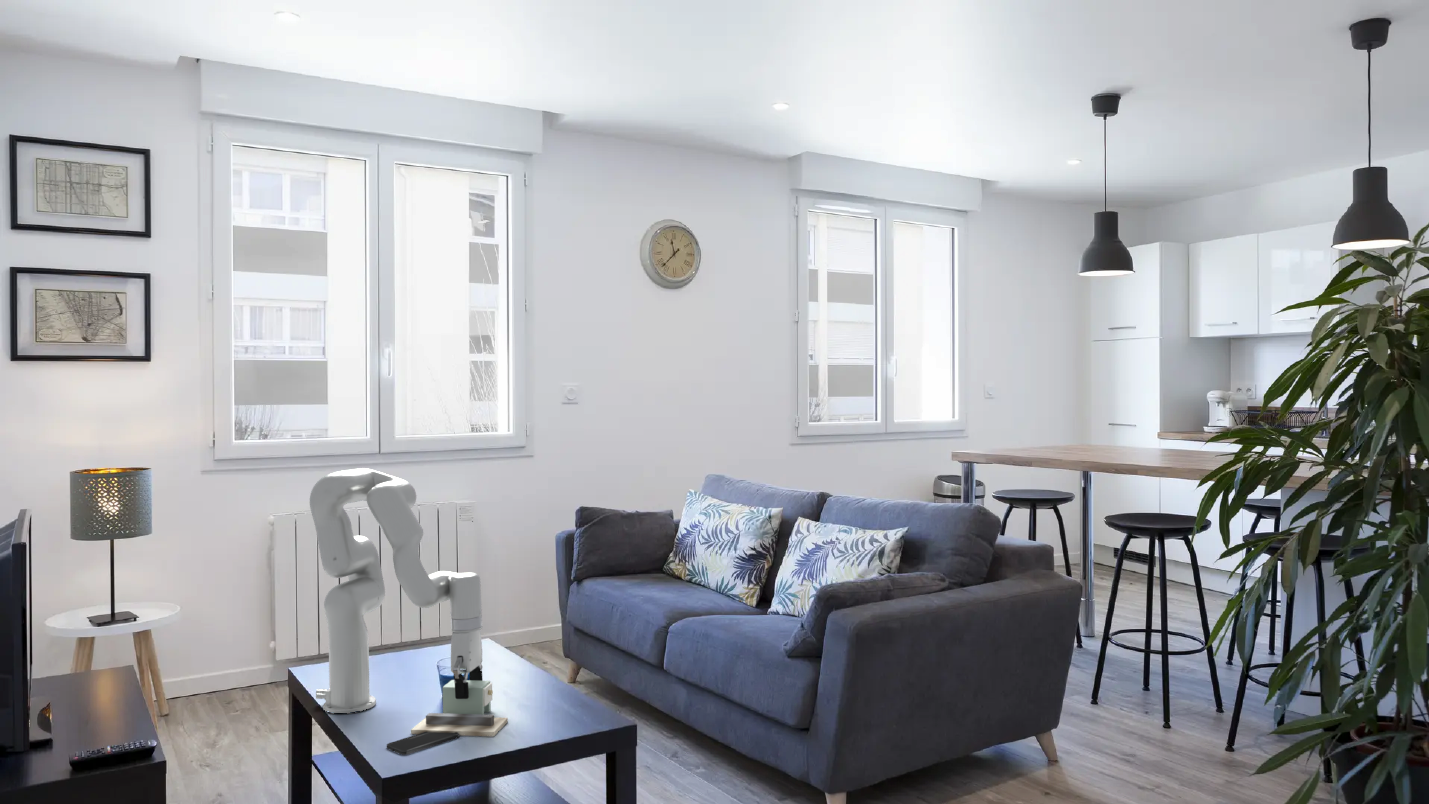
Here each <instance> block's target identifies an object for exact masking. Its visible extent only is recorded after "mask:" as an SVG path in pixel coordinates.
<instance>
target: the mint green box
mask: <svg viewBox="0 0 1429 804" xmlns="http://www.w3.org/2000/svg"><path fill="white" fill-rule="evenodd" d="M467 682H468V690H469V698H468V699H456V698H455V683H454V679H451V680H449V681H448V682H447V683H446V684H444V685H443V686H442V713H448V714H485V713H490V712H491V710H492V705H491V704H492V703H491V702H492V701H493V692H494V691H493V682H491V680H483V681H477V680H470V679H469V680H468V679H467Z"/></svg>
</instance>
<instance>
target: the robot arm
mask: <svg viewBox="0 0 1429 804" xmlns="http://www.w3.org/2000/svg"><path fill="white" fill-rule="evenodd" d="M361 501H363V502H366V503H367V506H368V508H369V510H370V512H371V514H372V516H373V517H374V518H375V521H376V522H377V524H378V525H379V527H380V529H381V530H382V532H383V534H384V536H385V538H386V539H387V541H388V543H389V545H390V546H391V548H392V562H393V568H394V573H395V576H396V579H397V581H398V583H399V585H400V587H401V588H402V590H403V591H404V593H405V595H406V597H408V599H409V601H411V603H413V604H414V605H415V606H416V607H418V608H421V609H429V608H431V607H434V606H436V605H439V604H440V603H444V602H446V601H449V609H450V611H449V612H450V613H449V614H450V616H449V617H450V632H452V633H451V640H450V641H451V643H450V671H451V672H452V673H453V675H452V676H453V677H452V678H453V680H454V683H455V698H456V699H468V698H469V690H468V682H467V680H468V675H469V680H477V681H484V680H483V665H482V664H483V663H482V662H483V644H482V643H483V641H482V633H481V630H483V614H482V613H483V612H482V610H483V609H482V590H481V589H482V588H481V586H482V585H481V576H480V575H479V574H478V573H476V572H471V571H469V572H453V571H448V570H438V571H435V572H432V573H430V574H428V573H427V571H426V569H425V567H424V566H423V563H422V562H421V558H420V551H419V549H420V548H419V547H420V544H421V542H422V541H421V540H422V539H423V536H424V528H423V527H422V525H421V524H420V522H419V520H418V519H417V517H416V515H415V513H414V512H413V510H412V508H413V507H414V506H415V505H416V503H417V493H416V490H415V488H414V486H413V485H412V484H411V483H410V482H409V481H407V480H406V479H404V478H403V479H402V478H399V477H396V476H394V475H390V474H386V473H384V472H381V471H377V470H375V469H371V468H365V467H362V468H361V467H360V468H351V469H343V470H339V471H334V472H331V473H330V472H329V473H328V474H326V475H324V476H323V477H321V478H319V480H318V481H317V482H316V483H315V484H314V485H313V487H312V489H311V492H310V495H309V509H310V512H311V516H312V517H311V518H312V519H313V522H314V527H315V531H316V539H317V545H318V549H319V554H320V555H319V556H320V560H321V564H322V567H323V568H322V569H323V570H324V573H325V574H326V575H327V576H328V577H330V578H333V579H340V578H346V577H347V578H348V580H347V581H345V582H342V583H339V584H337V585H335V586H333V587H332V588H331V589H330V590H329V591H328V592H327V593H326V596H325V598H324V602H323V611H324V615H325V620H326V625H327V635H328V636H327V637H328V667H329V668H328V669H329V670H328V674H329V675H328V677H329V678H328V680H329V683H328V685H329V688H328V689H326V688H317V689H316V692H315V699H316V700H322V699H323V700H324V701H325V702H324V703H323V706H322V709H323V711H324V710H325V712H326V711H329V712H334V713H347V714H351V713H350V712H355V711H360V712H362V711H363V710H364V711H366V709H367V710H369V709H371V708H373V707H375V705H376V704H377V699H376V697H375V696H374V695H370V652H369V651H370V649H369V648H370V646H369V631H368V627H367V625H366V622H365V619H364V615H366V614H369V613H371V612H374V611H376V610H377V609H379V607H381V606H382V604H383V603H384V601H385V596H386V589H385V581H384V577H383V572H382V566H381V561H380V557H379V552H378V549H377V547H376V545H375V544H374V543H373V541H372V540H371V539H370V538H368V537H366V536H364V535H354V531H353V527H352V526H353V525H352V522H351V519H350V517H349V515H348V513H347V511H346V510H345V509H344V506H345V505H347V504H351V503H357V502H361ZM334 713H333V714H334ZM355 713H356V712H355Z"/></svg>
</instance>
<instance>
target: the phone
mask: <svg viewBox="0 0 1429 804" xmlns="http://www.w3.org/2000/svg"><path fill="white" fill-rule="evenodd" d="M459 738H460V735H459V733H458V732H455V733H442V732H427V731H426V732H423V733H420V734H412V735H411V736H408V737H404V738H401V739H398V740H394V741H391V742H389V743H387V744H386V749H387V748H388V749H390V750H389V751H391V750H392V751H391V752H393V751H395V752H394V753H396V754H398V753H399V755H400V754H402V755H401V756H407V755H411V754H415V753H417V752H420V751H422V750H426V749H429V748H432V747H436V746H438V745H441V744H444V743H448V742H450V741H453V740H457V739H459ZM388 749H387V750H388Z"/></svg>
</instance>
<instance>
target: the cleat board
mask: <svg viewBox="0 0 1429 804" xmlns="http://www.w3.org/2000/svg"><path fill="white" fill-rule="evenodd" d="M508 721H509V719H508V717H495V714H485V713H484V714H448V713H443V712H429V713H427V714H426V715H425V718H423V719H422V720H421V721H420V722H418V723H417V724H416V725H415V726H414V727H412V728H411V729H410V735H417V734H420V733H423V732H426V731H427V732H442V733H455V732H458V733H459V736H463V737H464V736H465V737H466V736H469V737H495V736H497V734H498V733H499V732H500V731H501V730H502V729H503V728H504V726H505V725H506V724H507V723H508ZM498 731H499V732H498Z"/></svg>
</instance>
